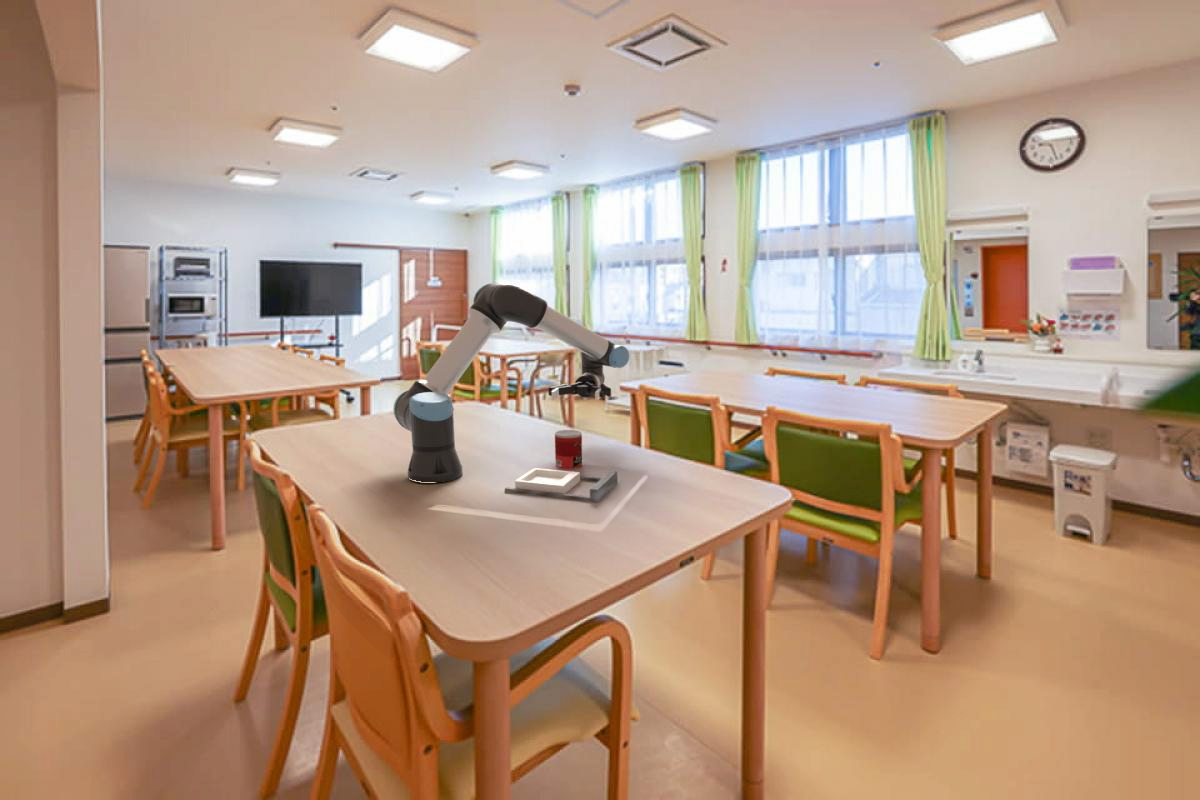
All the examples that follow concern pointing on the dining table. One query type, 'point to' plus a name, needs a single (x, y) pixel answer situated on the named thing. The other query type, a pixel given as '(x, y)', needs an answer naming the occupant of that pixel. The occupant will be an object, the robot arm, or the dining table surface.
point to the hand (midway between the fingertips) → (574, 396)
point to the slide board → (595, 495)
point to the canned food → (568, 449)
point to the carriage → (548, 480)
